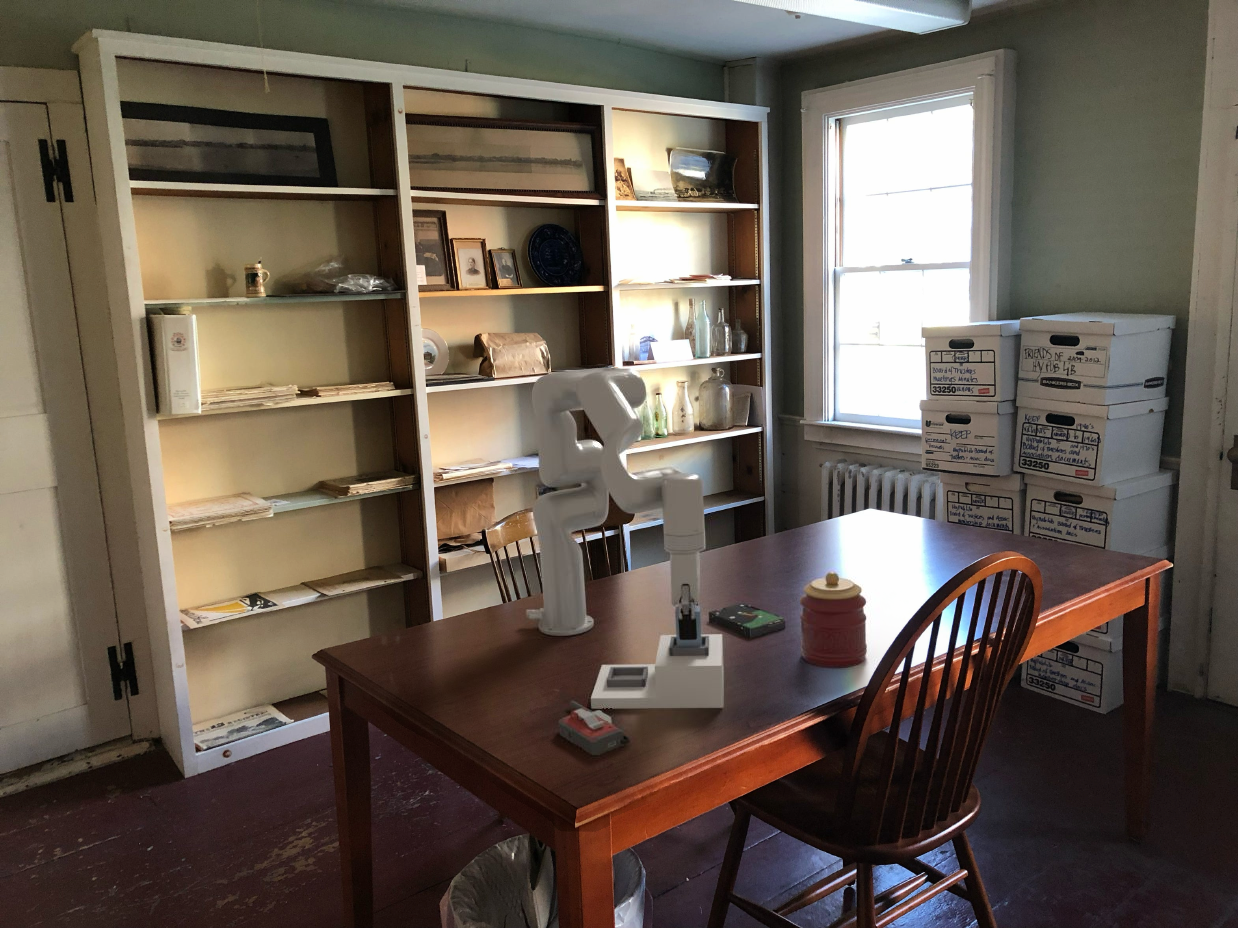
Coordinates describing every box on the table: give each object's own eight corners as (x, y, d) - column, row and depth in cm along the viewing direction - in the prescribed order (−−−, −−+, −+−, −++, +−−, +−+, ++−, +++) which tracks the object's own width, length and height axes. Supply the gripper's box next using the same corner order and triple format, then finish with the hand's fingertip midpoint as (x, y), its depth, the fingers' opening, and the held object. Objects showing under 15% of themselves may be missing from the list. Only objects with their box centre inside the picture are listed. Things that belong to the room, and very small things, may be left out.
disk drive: (708, 623, 219) (751, 640, 207) (707, 612, 219) (751, 627, 206) (742, 613, 225) (787, 629, 213) (742, 602, 224) (786, 616, 212)
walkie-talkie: (640, 745, 162) (576, 707, 178) (639, 720, 161) (574, 685, 177) (597, 761, 157) (535, 721, 173) (596, 736, 156) (533, 698, 172)
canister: (788, 652, 198) (786, 569, 195) (843, 640, 202) (841, 559, 199) (823, 673, 186) (821, 585, 183) (880, 661, 190) (879, 575, 187)
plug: (677, 653, 179) (675, 612, 178) (678, 646, 182) (676, 605, 181) (701, 652, 178) (699, 611, 177) (702, 646, 182) (700, 605, 181)
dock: (591, 708, 176) (588, 659, 175) (602, 674, 192) (599, 628, 190) (723, 707, 173) (721, 657, 172) (723, 672, 189) (721, 626, 187)
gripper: (667, 530, 186) (672, 615, 189) (661, 554, 169) (666, 647, 172) (706, 529, 185) (710, 614, 188) (704, 552, 168) (708, 646, 171)
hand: (689, 630), depth 180 cm, fingers open, 9 cm apart
